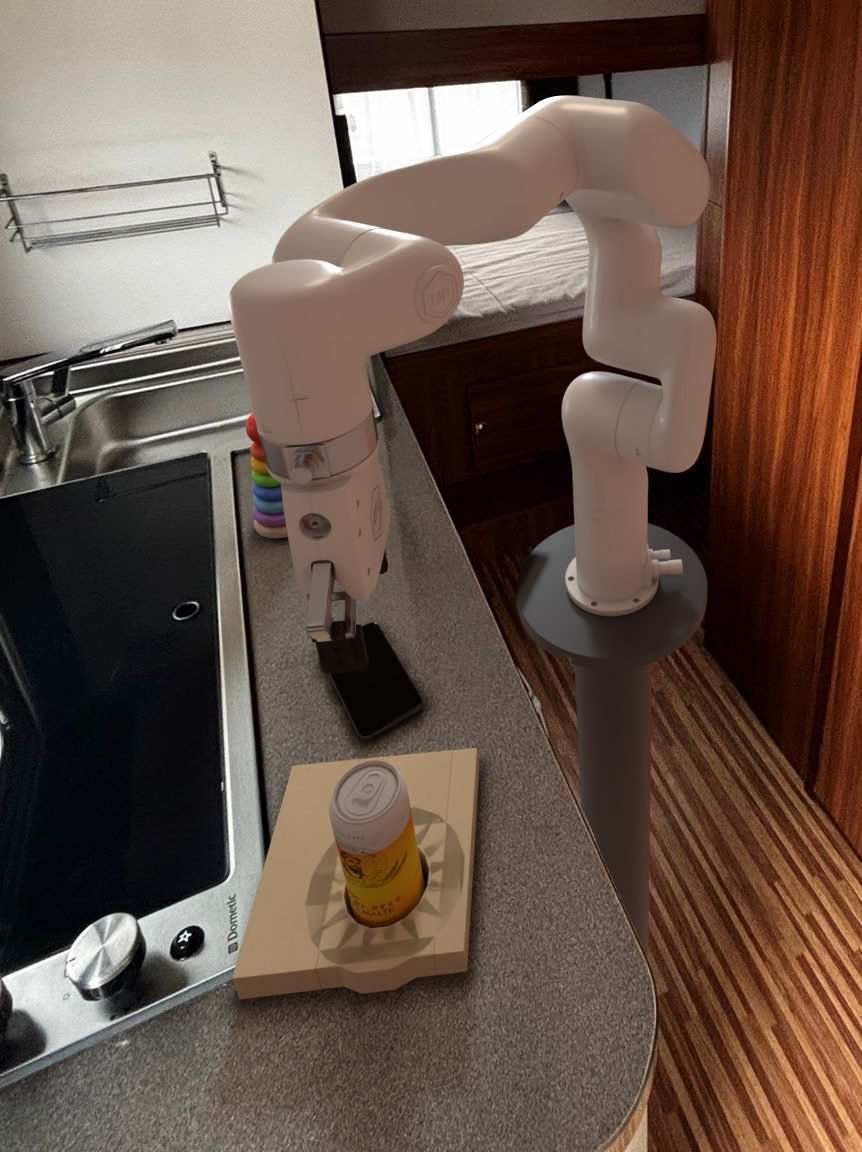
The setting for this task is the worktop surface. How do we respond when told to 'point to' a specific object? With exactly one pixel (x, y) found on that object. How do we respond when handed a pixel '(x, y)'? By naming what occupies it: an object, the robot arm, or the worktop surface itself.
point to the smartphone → (377, 688)
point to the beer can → (377, 843)
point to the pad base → (320, 897)
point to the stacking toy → (265, 490)
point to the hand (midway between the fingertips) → (358, 617)
